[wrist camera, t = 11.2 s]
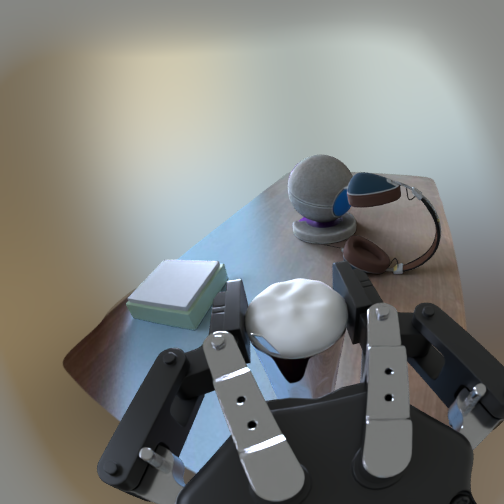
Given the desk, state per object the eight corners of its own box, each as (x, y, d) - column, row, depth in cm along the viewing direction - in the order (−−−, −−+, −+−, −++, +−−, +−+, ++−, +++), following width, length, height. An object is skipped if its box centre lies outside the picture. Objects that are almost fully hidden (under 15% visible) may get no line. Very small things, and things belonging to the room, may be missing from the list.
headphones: (291, 265, 44) (428, 294, 34) (289, 171, 36) (454, 196, 26) (304, 246, 48) (427, 270, 39) (303, 161, 40) (446, 181, 31)
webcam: (325, 210, 63) (318, 147, 55) (369, 226, 53) (367, 152, 45) (281, 230, 58) (270, 160, 50) (325, 251, 48) (318, 167, 40)
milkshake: (253, 430, 15) (201, 320, 10) (288, 369, 19) (264, 247, 14) (322, 452, 12) (322, 349, 8) (350, 382, 16) (357, 254, 12)
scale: (131, 317, 41) (121, 299, 39) (168, 275, 50) (162, 257, 48) (195, 330, 36) (186, 310, 34) (228, 279, 46) (223, 259, 44)
